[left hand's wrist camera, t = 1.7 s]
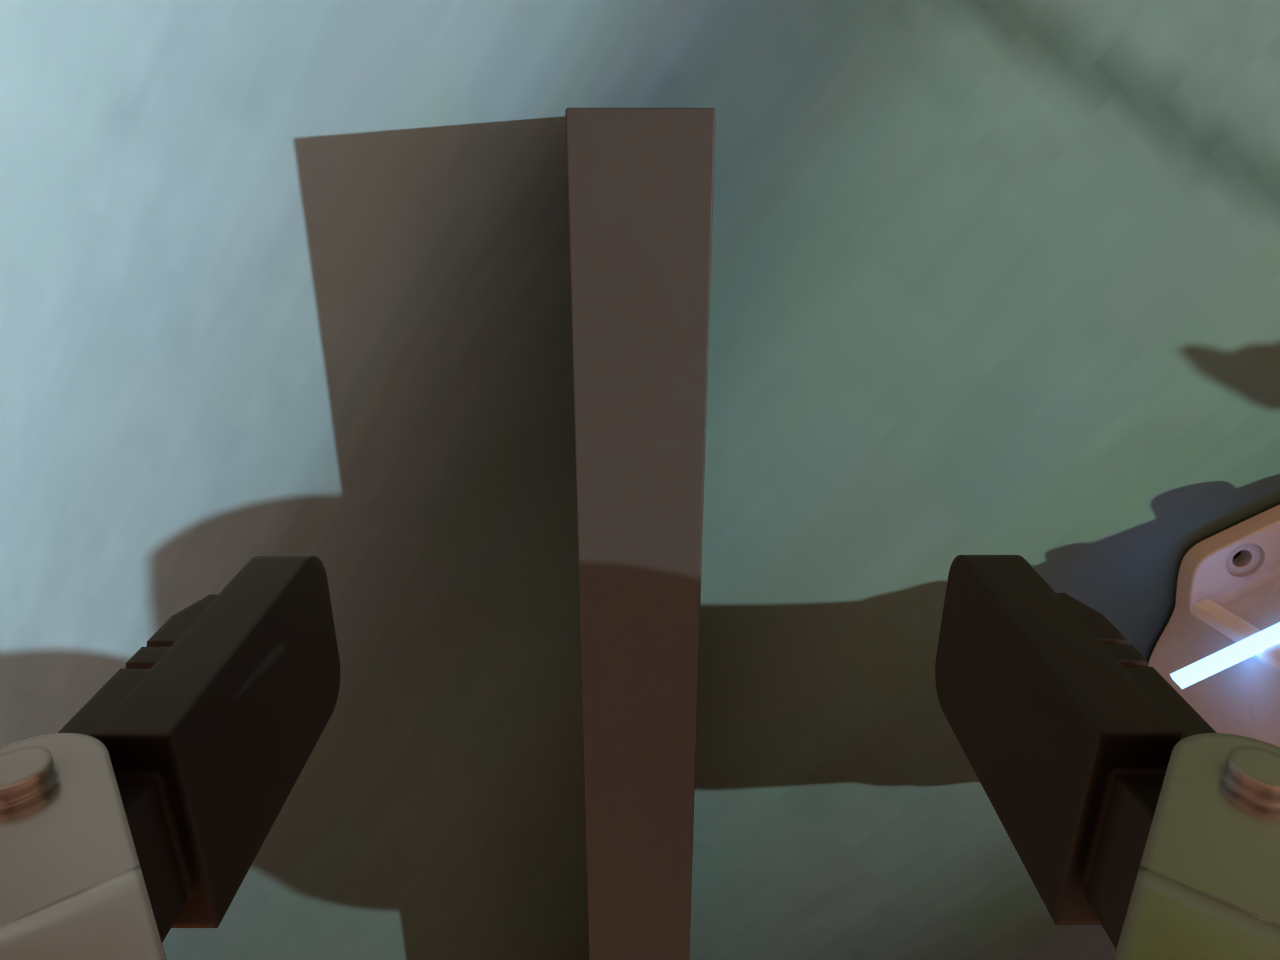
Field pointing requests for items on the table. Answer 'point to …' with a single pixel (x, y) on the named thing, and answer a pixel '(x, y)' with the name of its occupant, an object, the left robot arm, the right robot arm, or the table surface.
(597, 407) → the bar
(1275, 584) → the right robot arm
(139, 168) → the table surface
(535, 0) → the table surface
